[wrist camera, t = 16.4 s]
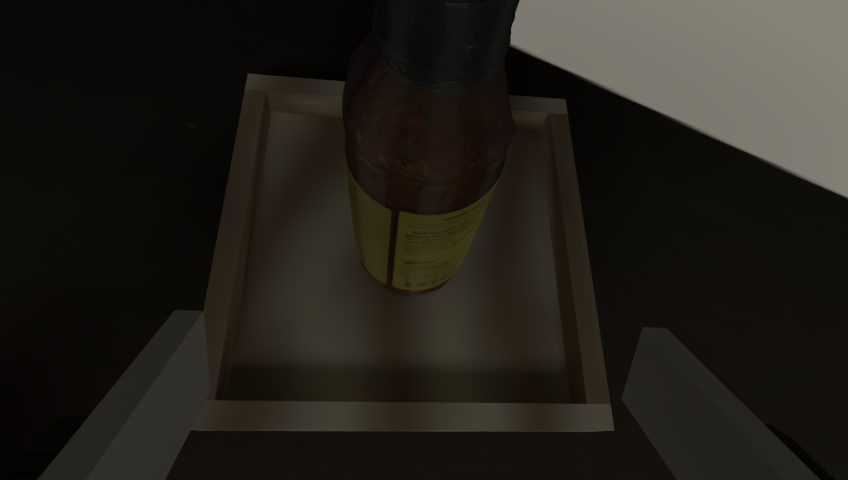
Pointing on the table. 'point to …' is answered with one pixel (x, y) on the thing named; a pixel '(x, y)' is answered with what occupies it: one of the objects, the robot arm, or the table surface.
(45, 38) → the table surface
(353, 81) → the sauce bottle
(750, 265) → the table surface
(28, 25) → the table surface
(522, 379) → the birch tray
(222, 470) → the table surface
